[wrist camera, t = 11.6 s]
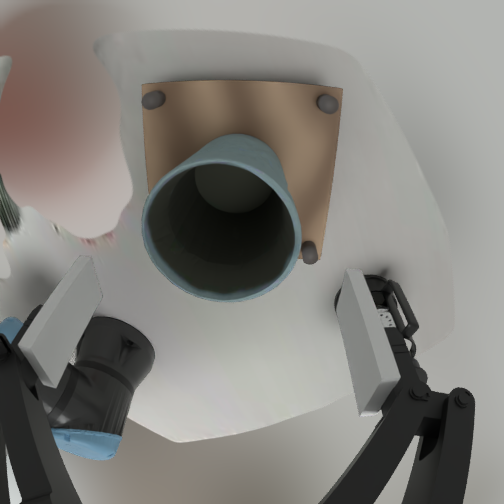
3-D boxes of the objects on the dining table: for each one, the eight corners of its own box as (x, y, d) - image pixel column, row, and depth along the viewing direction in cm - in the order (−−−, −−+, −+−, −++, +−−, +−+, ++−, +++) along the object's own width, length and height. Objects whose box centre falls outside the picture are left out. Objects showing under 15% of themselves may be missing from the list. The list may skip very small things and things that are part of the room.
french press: (367, 329, 50) (399, 454, 30) (320, 315, 48) (341, 453, 29) (410, 278, 44) (470, 405, 25) (362, 256, 42) (417, 400, 23)
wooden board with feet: (171, 222, 40) (150, 262, 33) (163, 80, 31) (133, 86, 23) (311, 229, 40) (322, 270, 33) (327, 85, 31) (348, 90, 23)
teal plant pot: (279, 229, 32) (285, 311, 22) (180, 217, 32) (144, 292, 22) (296, 131, 27) (318, 173, 17) (185, 119, 27) (137, 153, 17)
